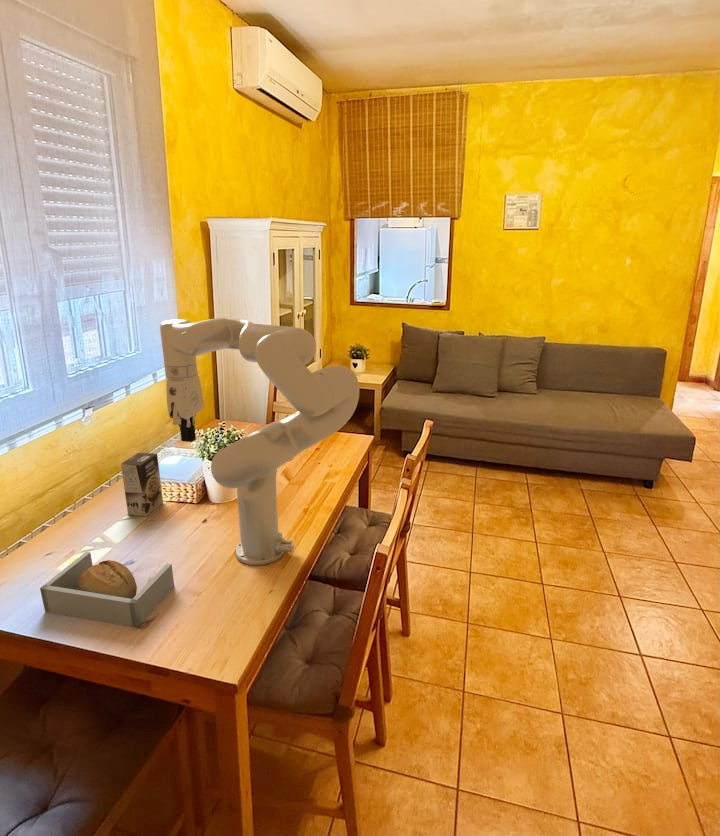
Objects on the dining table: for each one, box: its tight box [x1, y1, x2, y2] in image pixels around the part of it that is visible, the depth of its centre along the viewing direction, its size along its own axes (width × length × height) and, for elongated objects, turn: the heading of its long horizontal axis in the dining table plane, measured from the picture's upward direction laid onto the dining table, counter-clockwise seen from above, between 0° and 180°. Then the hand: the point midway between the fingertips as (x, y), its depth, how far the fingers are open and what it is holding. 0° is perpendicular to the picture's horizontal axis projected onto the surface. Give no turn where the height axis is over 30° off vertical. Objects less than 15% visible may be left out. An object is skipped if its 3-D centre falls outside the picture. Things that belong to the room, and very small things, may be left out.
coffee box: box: [120, 452, 164, 517], centre depth 158 cm, size 9×6×16 cm
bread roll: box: [77, 559, 138, 599], centre depth 120 cm, size 10×15×8 cm, turn 62°
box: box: [39, 551, 175, 628], centre depth 120 cm, size 22×14×6 cm, turn 77°
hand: (188, 440), depth 139 cm, fingers closed
